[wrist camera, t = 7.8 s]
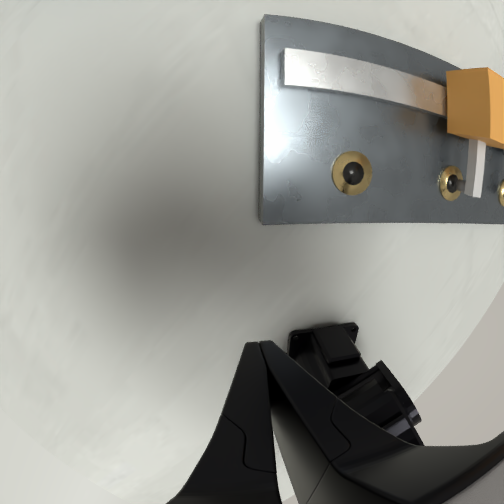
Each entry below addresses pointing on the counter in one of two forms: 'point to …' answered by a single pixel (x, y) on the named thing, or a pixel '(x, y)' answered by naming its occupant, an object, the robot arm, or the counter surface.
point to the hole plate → (361, 132)
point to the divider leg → (475, 118)
